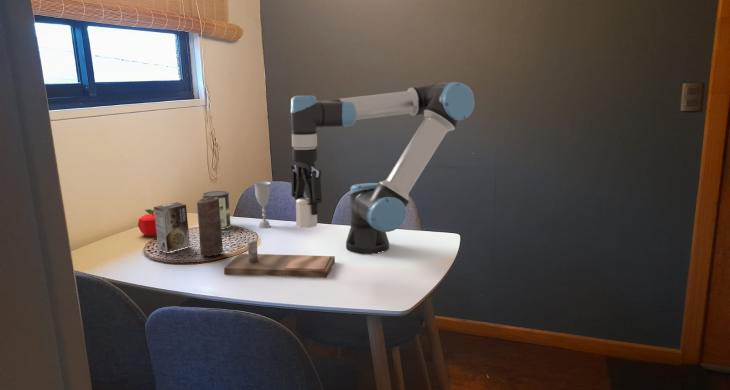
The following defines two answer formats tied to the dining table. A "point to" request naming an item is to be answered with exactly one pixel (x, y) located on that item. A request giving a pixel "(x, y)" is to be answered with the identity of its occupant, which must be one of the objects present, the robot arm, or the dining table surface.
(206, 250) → the brown tall block
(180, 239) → the coffee box
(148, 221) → the apple
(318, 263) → the post board
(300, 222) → the white cylinder
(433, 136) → the robot arm
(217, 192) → the coffee can
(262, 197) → the chalice
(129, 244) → the dining table surface
